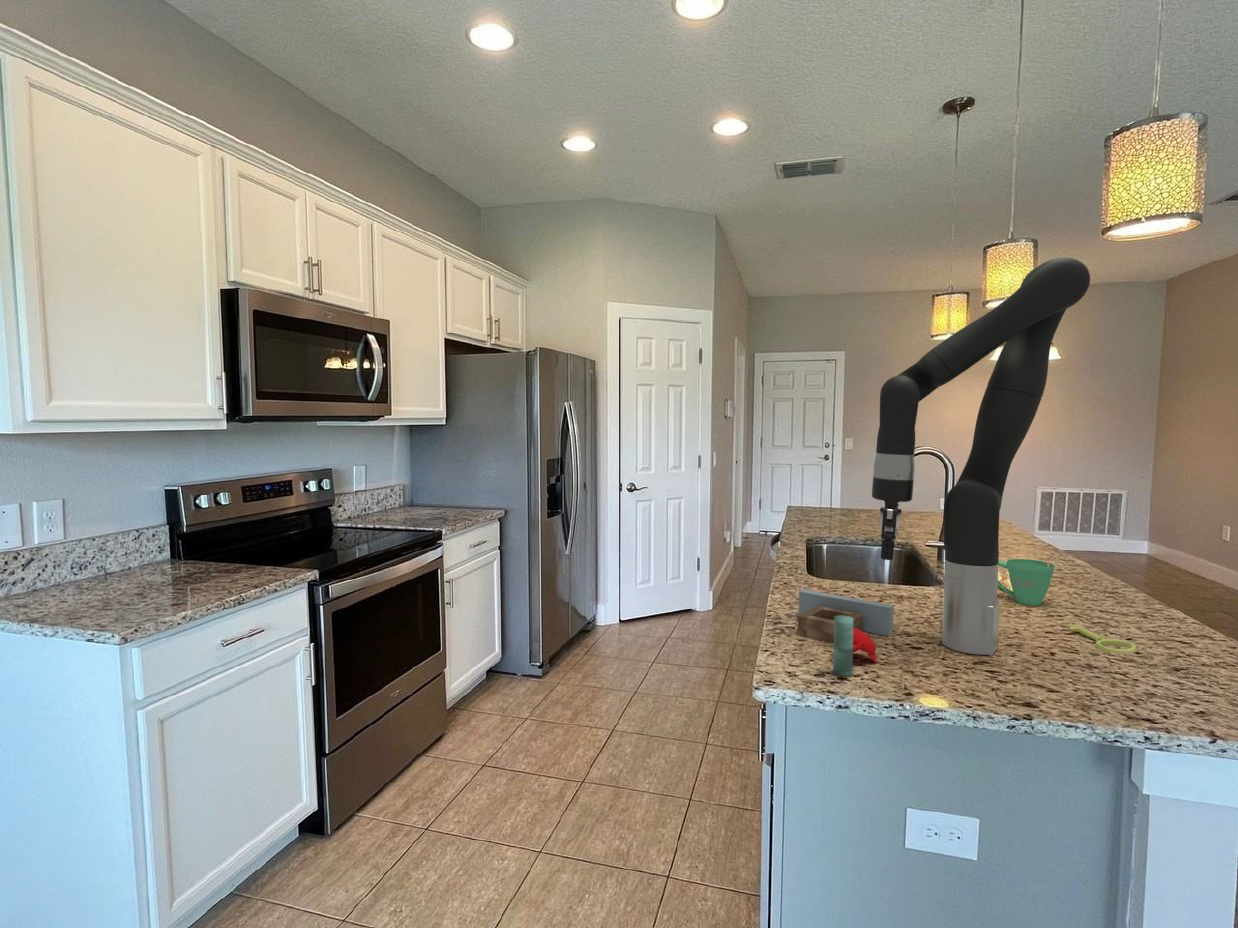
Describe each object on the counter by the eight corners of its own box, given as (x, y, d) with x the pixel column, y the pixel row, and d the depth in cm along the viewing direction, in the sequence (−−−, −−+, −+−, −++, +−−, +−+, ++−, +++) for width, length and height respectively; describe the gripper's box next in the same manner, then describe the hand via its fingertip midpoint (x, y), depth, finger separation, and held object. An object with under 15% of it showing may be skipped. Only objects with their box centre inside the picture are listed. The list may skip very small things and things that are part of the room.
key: (1073, 632, 132) (1074, 623, 132) (1141, 652, 121) (1142, 641, 121) (1052, 637, 129) (1053, 627, 129) (1120, 658, 118) (1121, 647, 118)
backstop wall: (892, 633, 131) (893, 605, 131) (889, 636, 130) (889, 607, 129) (803, 614, 144) (803, 589, 144) (798, 617, 143) (799, 591, 142)
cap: (831, 646, 115) (861, 634, 112) (829, 626, 120) (858, 614, 117) (854, 678, 116) (885, 666, 113) (852, 656, 121) (880, 645, 119)
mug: (1059, 603, 152) (1060, 563, 152) (1044, 611, 146) (1046, 569, 146) (993, 591, 164) (995, 554, 163) (977, 597, 158) (979, 559, 157)
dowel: (855, 672, 111) (856, 617, 110) (848, 678, 108) (849, 622, 108) (837, 668, 113) (838, 614, 112) (830, 673, 110) (831, 618, 110)
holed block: (862, 632, 132) (863, 614, 132) (844, 645, 124) (845, 625, 124) (817, 622, 138) (817, 605, 138) (797, 634, 131) (798, 615, 131)
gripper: (914, 480, 117) (907, 565, 118) (913, 475, 130) (907, 551, 131) (871, 477, 120) (865, 560, 121) (874, 472, 133) (869, 546, 134)
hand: (887, 555), depth 126 cm, fingers open, 8 cm apart
